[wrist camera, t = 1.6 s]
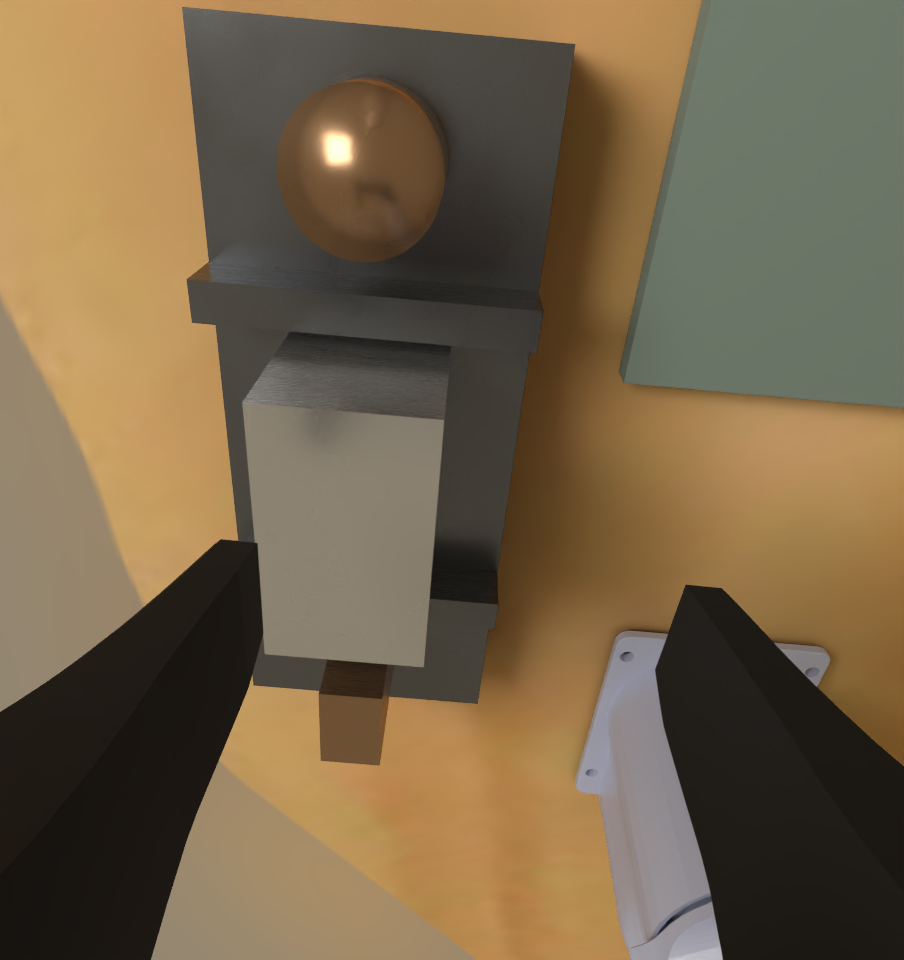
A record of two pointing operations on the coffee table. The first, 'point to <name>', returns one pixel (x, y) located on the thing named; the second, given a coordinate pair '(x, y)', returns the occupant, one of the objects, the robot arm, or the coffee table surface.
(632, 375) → the rubber mat
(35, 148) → the coffee table surface
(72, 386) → the coffee table surface
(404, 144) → the hand plane
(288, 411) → the rectangular metal block
